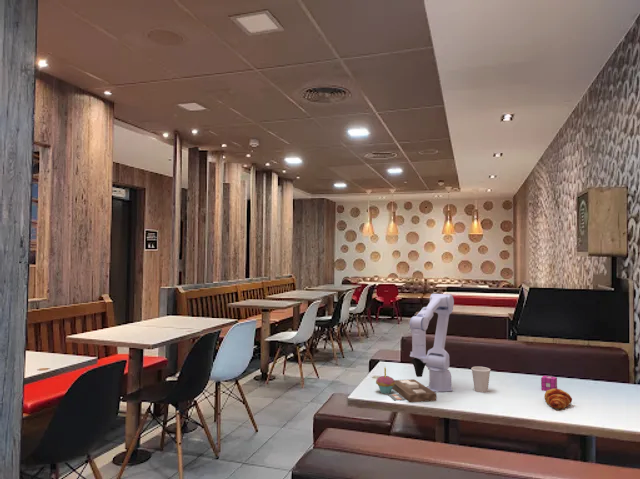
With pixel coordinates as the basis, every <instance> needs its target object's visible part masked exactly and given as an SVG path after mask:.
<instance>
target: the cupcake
mask: <svg viewBox="0 0 640 479" xmlns="http://www.w3.org/2000/svg"><path fill="white" fill-rule="evenodd" d="M383 368H384V372H383V373H384V375H382V376H378V378H376V381H375V384H376V385H377V386H378V388H379V391H380V394H384V395H387V394H388V395H390V394H391V393H392V390H393V389H392V388H393V386H394V385H395V381H394V380H395V379H394V378H393V377H391V376H388V375H387V373H386V372H387V368H386V367H383Z"/></svg>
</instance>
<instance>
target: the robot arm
mask: <svg viewBox="0 0 640 479" xmlns="http://www.w3.org/2000/svg"><path fill="white" fill-rule="evenodd" d="M454 304H455V299H454V296H453V295H452V294H451V293H448V294H447V293H431V294H430V296H429V303H428V304H427V305H426V306H423V307H422V308H421V310H420V311H418V313H417V314H416V316H415V315H413V316H412V317H411V318H410V320H409V323H408V325H409V328H410V333H411V344H412V346H411V347H412V348H411V351H409V352H410V354H409V357H410V358H412V359H411V360H410V361H411V363H412V364H413V368H414V372H415V375H416V377H417V378H422V377H423V374H424V369H425V367H426V368H427V370H429V372H428V374H429V377H428V378H429V384H428V386H425V387H427V388H428V389H430V390H432V391H433V392H435V393H440V392H453V389H452V373H451V371H450V370H449V368H450V354H449V353H448V351H447V350H446V349H445V347H446V339H447V332H448V325H449V320H450V319H449V318H450V315H451V314H452V313H453V311H454ZM434 312H435V313H436V314H437V321H436V328H435V334H434V341H433V347H432V348H429V349H428V350H427V347H426V345H427V343H426V340H427V339H426V338H427V336H426V334H427V332H426V331H427V330H428V328H429V327H428V326H429V324H430V321H431V320H432V318H433V317H434Z"/></svg>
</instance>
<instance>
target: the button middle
mask: <svg viewBox="0 0 640 479" xmlns="http://www.w3.org/2000/svg"><path fill="white" fill-rule="evenodd" d="M406 387H408V388H419V384H417V383H416V382H406Z"/></svg>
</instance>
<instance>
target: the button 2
mask: <svg viewBox="0 0 640 479" xmlns="http://www.w3.org/2000/svg"><path fill="white" fill-rule="evenodd" d="M412 391H413V392H415V393H416V394H417V393H426V392H425V391H424V390H422V389H419V390H412Z"/></svg>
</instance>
